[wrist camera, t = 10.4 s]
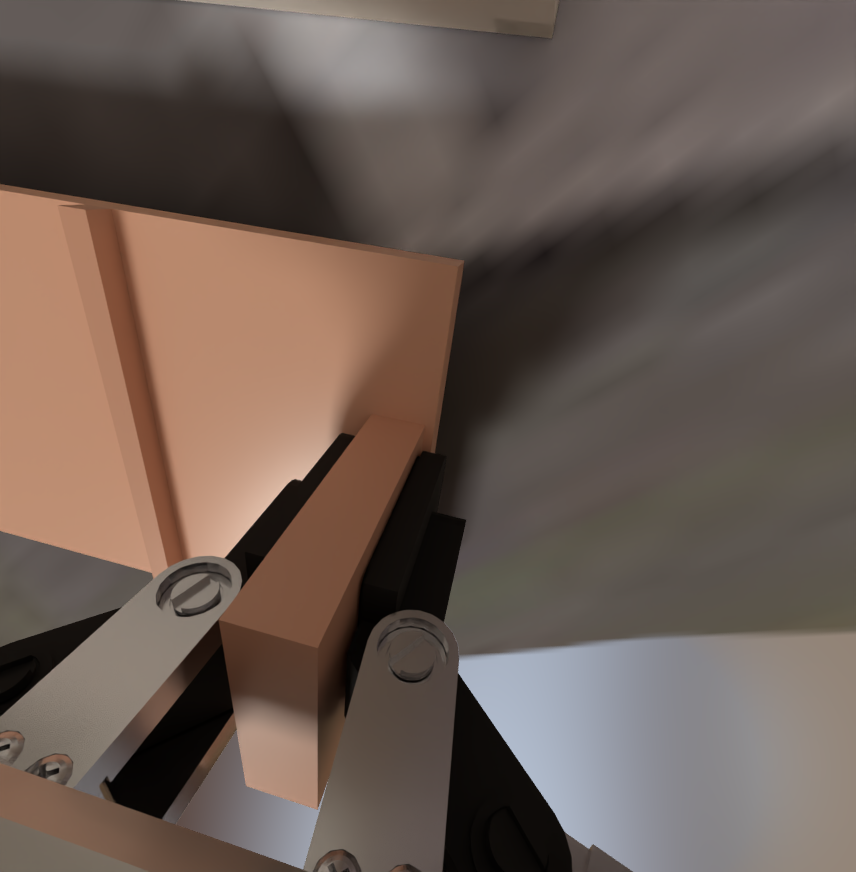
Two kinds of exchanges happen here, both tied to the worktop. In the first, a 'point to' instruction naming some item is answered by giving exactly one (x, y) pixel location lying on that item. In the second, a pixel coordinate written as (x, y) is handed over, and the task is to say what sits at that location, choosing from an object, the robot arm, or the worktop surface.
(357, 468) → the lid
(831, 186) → the worktop surface
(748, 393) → the worktop surface
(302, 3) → the open box
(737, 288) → the worktop surface
